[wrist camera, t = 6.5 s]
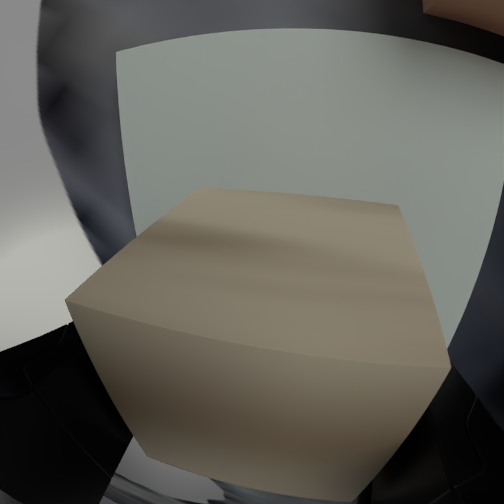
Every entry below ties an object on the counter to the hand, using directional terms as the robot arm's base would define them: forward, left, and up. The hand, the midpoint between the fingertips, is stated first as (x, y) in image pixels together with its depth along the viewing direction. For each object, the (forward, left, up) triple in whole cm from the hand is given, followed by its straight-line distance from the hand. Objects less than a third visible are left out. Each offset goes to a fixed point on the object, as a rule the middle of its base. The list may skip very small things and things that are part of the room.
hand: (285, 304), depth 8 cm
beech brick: (0, 0, -1) cm, 1 cm away
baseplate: (0, 0, -5) cm, 5 cm away
